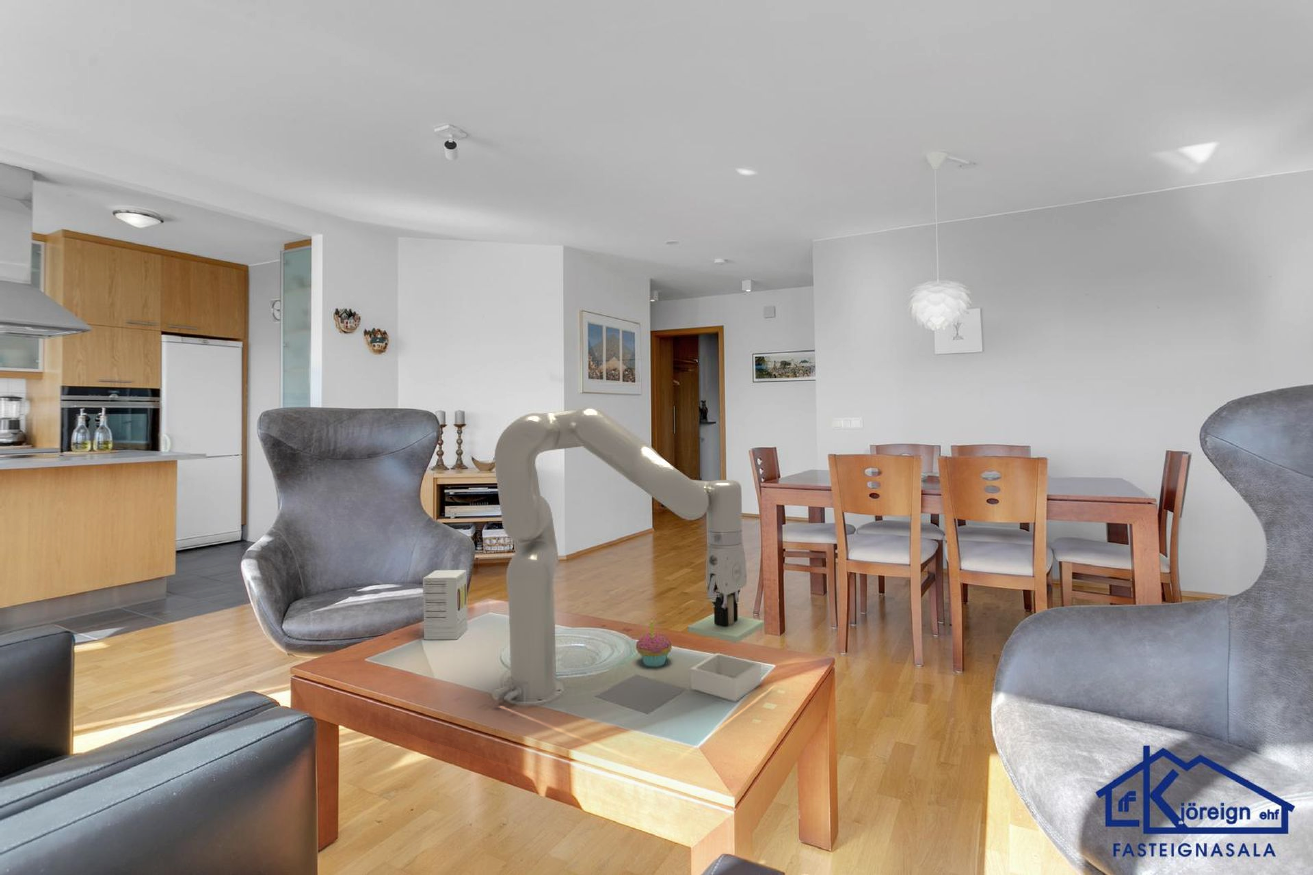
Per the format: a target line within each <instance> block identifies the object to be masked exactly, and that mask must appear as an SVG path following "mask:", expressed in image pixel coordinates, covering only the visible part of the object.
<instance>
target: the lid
mask: <svg viewBox="0 0 1313 875" xmlns="http://www.w3.org/2000/svg"><path fill="white" fill-rule="evenodd" d="M718 597H720V598H721V600H722V596H719V595H718ZM726 607H727V608H728V624H729V625H728V626H727V627H724V626H720V625H715V623H714V613H712V614H710V615H708V616H706V617H704V618H701V619H700V620H698V621H695V622H693V623H692V624H690V625H687V632H688V633H691V634H695V635H700V636H704V637H709V638H713V639H718V640H723V641H727V642H732V643H739V642H741V641H742V640H745V639H746V638H748V637H749V636H751V635H753V634H754V633H756V632H758V631H759V630H761V629H763V628H764V627H765V620H761V619H757V618H750V617H744V616H741V615H738V621H736V622H734V605H733V595H731V594H729V595H727V604H726Z"/></svg>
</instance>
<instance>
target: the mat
mask: <svg viewBox="0 0 1313 875" xmlns="http://www.w3.org/2000/svg"><path fill="white" fill-rule="evenodd" d="M686 691H688V688H685V687H681V686H678V685H674V684H671V683H668V682H664V681H660V680H658V679H654V678H650V677H647V676H643V675H640V674H637V673H636V674H634V675H632V676H630V677H628V678H627V679H624V680H623V681H620V682H619V683H617V684H616V685H613V686H611V687H609V688H608V689H606V690H604V691H602V692H600V693H597V694H596V695H595V696H594V698H595V697H596V698H598V699H602V700H604V701H607V702H610V703H614V704H616V705H619V706H622V707H625V708H628V709H630V710H633V711H638V712H640V713H643V714H645V715H649V714H650V713H652V712H654V711H655V710H657V709H658V708H660V707H661V706H663V705H665V704H666V703H668V702H669V701H672V699H674V698H676V697H678V696H679V695H681V694H682V693H684V692H686Z"/></svg>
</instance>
